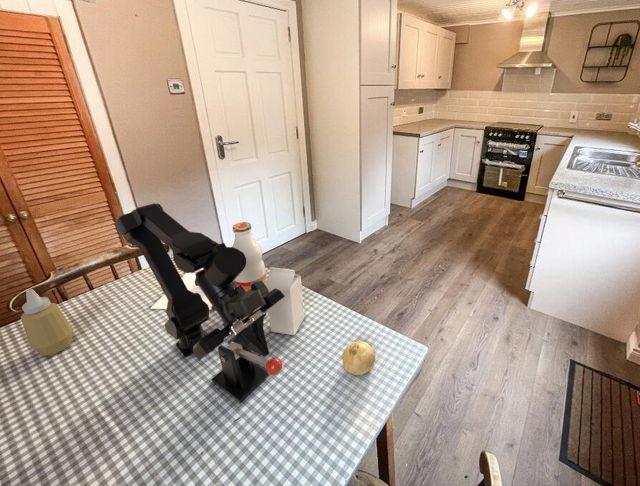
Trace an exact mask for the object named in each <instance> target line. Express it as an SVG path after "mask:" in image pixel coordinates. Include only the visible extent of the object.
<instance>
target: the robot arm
mask: <svg viewBox="0 0 640 486" xmlns="http://www.w3.org/2000/svg"><path fill="white" fill-rule="evenodd" d="M114 226H115V229H116V231H117V232H118V234H119V236H123V238H124V240H125V241H126V243H128V244H129V245H132V246H134V247H136V248H138V249H139V250H140V252H141V254H142V255H143V257H144V259H145V261H146V263H147V264H148V266H149V268H150V270H151V272H152V273H153V276H154V277H155V279H156V281H157V283H158V285H159V286H160V288H161V290H162V292H163V295H164V294H165V295H166V297H167V299H168V304H167V309H165V310H166V311H165V313H166V314H165V315H166V316H167V321H166V322H165V323H164V325H163V327H164V328H165V330H166V333H167V334H168V335H170V336H171V337H172V338H174V340H176V341H177V340H178V341H177V342H175V346H176V348H177V349H178V351H179V352H180V353H181V355H182V356H183V357H184V358H188V357H190V356H191V355H194V356H195V358H196V359H197V361H198V362H199V361H201V360H203V359H204V358H205V357H206V356H207V355H209V354H210V353H212V352H213V351H214V350H215V349H216V348H218V347H219V346H221V345H222V344H223V343H224V341H225V339H226V338H227V339H228V341H227V344H228V345H230V344H231V343H233V342H235V343H238V344H240V345H242V346H245V347H247V348H249V349H251V352H252V351H253V352H254V353H256V354H258V355H259V356H260V357H262V358H266V357H267V356H268V355H270V349H269V347H268V343H267V338H266V335H265V328H264V321H265V317H266V316H267V312H266V311H268V309H269V308H271V307H272V306H273V305H275V304H276V303H277V302H278V301H280V300H281V299H282V298H283V297H285V296H284V294H283V293H282V291H281V290H279V289H276V288H275V289H273V290H272V291H270V292H269V291H268V288H267V286H266V285H265V284H264V283H263V281H262V280H259V281H257V282H255V283H253V284H252V285H251V289H250V290H248V291H246V290H244V288H243V287H241V285H240V286H237V285H236V284H235V282H234V280H235V279H236V278H237V277H238V275H239V274H240V273H241V272H242V271H243V270H244V268H245V266H246V257H245V255H244V253H243V252H241V251H240V250H238V249H236V248H233V247H232V246H227V245H226V243H225V242H221V243H218V242H217V241H215V240H213V239H212V238H211V237H208V236H207V235H205V234H203V233H202V232H197V231H196V232H195V231H190V230H189V229H187V228H185V227H184V226H183V225H182V224H181V223H180V222H179V221H177V220H176V219H175V218H173V217H172V216H171V214H168V213H167V212H166V211H165V210H164V208H163V206H162V205H161V204H160V203H155V202H153V203H150V204H149V203H148V204H146V205H142V206H137V207H136V208H135V209H133V210H131V211H130V212H127V213H124V214H119V216H118V217H117V219H116V221H115V222H114ZM164 244H165V245H166V247H168V248H169V249H170V250H171V251H172V257H170V254H169V252H168V251H167V249H166V247H165V245H164ZM172 259H173V260H172ZM178 270H180V271H182V272H184V273H185V274H186V273H196V274H195V275H196V279H195V285H196V286H199V287H200V289H201V290H202V291H203V293H204V294H205V296H206V297H207V299H208V300H209V301H210V303H211V304H212V307H211V309H212V312H216V313H217V314H218V316H219V317H220V319H221V320H222V321H223V323H222V324H221V325H222V326H223V328H222V329H220V328H218V327H216V328H215V329H213V330H212V331H211V332H209V333H208V334H206V335H205V333H204V329H203V324H204V323H206V322H208V321H209V320H210V310H209V307H208V304H206V303H205V302H204V301H203V300H202V298H201V295H200V294H198V293H193V292H191V291H189V290H188V289H187V287H186V285H185V284H184V282H183V280H182V276H181V275H180V273H179V271H178ZM197 271H198V272H197ZM236 321H237V322H236ZM245 324H246V325H245Z"/></svg>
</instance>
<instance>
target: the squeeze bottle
mask: <svg viewBox="0 0 640 486" xmlns="http://www.w3.org/2000/svg"><path fill="white" fill-rule="evenodd" d="M25 297H26V302H25V303H24V304H23V305H22V306H21V309H22V311H23V313H22V314H21V316H20V320H21V324H22V327H23V330H24V332H25V333H24V334H25V336H26V339H27V342H28V345H29V347H30V349H32V350H33V351H35V352H36V353H38V354H40V355H41V356H45V357H47V356H52V355H55V354H58V353H60V352H62V351H64V350H65V349H67V348H68V347H69V346H70V345H71V344H72V341H73V332H74V331H73V330H74V328H73V327H72V325H71V324H70V322H69V320H68V319H67V318H66V316H65V315H64V313H63V312H62V310H61V308H60V307H59V305H58V304H57V303H54V302H51V300H50V299H49V297H47V296H40V295H39V294H38V293H37V292H36V291H35V290H34V289H33V288H29V289H27V290H25Z"/></svg>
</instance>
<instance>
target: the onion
mask: <svg viewBox="0 0 640 486" xmlns="http://www.w3.org/2000/svg"><path fill="white" fill-rule="evenodd" d="M341 360H342V361H341V362H342V365H343V367H344V369H345V370H346V372H348V373H349V374H351V375H353V376H362V375H365V374H367V373H368V372H369V371H371V369H372V368H373V367H374V364H375V361H376V353H375V350H374V349H373V347H372V346H371V345H370V344H369V343H367V342H365V341H361V340H356V341H353V342H350V344H348V345H347V346H346V347H345V348H344V350H343V352H342V356H341Z"/></svg>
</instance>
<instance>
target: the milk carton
mask: <svg viewBox="0 0 640 486" xmlns="http://www.w3.org/2000/svg"><path fill="white" fill-rule="evenodd" d="M266 286H267V288H268V291H269V292H270V291H272V290H273V289H275V288H276V289H279V290H281V291H282V293H283V294H284V296H285V297H283V298H282V299H281V300H280V301H278V302H277V303H276V304H275V305H273V306H272V307H271V308H269V309H268V310H267V311H268V312H267V313H268V319H269V326H270V332H273V333H276V334H277V333H278V334H284V335H289V336H295V335H296V334H297V331H298V330H299V328H300V327H301V325H302V324H303V321H304V319H305V311H304V310H305V309H304V298H303V287H302V276H301V275H300V274H296V271H295V269H290V268H280V267H269V273H268V276H267V282H266Z"/></svg>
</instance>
